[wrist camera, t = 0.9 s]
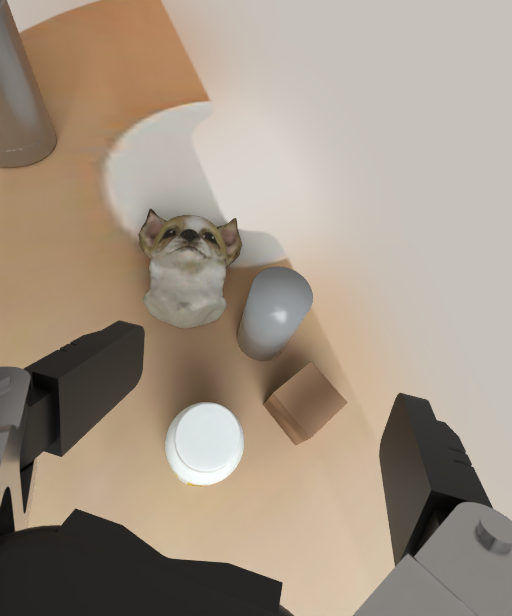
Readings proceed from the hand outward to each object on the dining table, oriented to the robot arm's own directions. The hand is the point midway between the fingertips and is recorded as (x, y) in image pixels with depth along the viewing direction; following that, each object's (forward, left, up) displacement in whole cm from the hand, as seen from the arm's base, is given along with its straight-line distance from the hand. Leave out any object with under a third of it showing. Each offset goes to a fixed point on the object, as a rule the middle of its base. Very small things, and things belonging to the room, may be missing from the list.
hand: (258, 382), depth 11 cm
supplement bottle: (-1, -1, -22) cm, 22 cm away
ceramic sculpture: (-15, +8, -22) cm, 28 cm away
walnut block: (+2, +8, -22) cm, 23 cm away
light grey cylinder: (-6, +10, -22) cm, 25 cm away
